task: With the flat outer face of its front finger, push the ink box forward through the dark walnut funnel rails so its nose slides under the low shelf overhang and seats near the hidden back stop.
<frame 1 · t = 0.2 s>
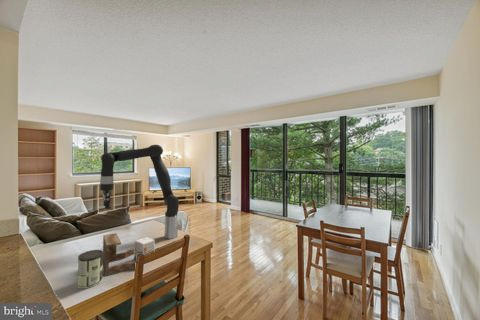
hand: (106, 207, 140), 29 cm above the table, fingers open, 8 cm apart
shelf bay: (118, 265, 122), on the table
ink box: (144, 259, 130), on the table
coffee can: (90, 282, 104), on the table
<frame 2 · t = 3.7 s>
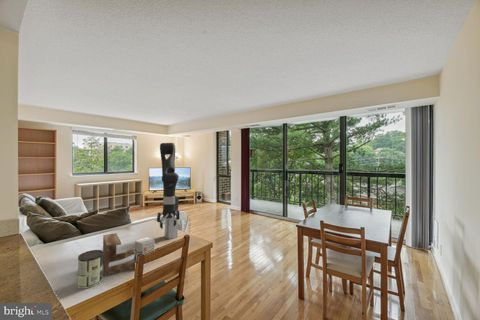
hand: (168, 227, 139), 17 cm above the table, fingers open, 8 cm apart
nothing on the table moved.
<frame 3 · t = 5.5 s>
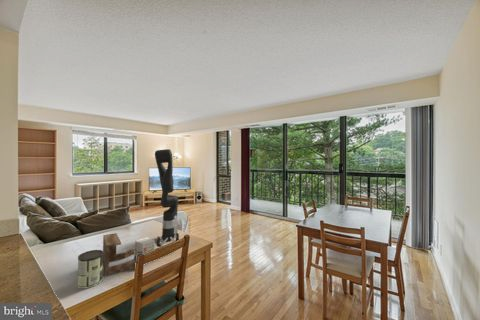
hand: (167, 250, 139), 2 cm above the table, fingers open, 8 cm apart
nothing on the table moved.
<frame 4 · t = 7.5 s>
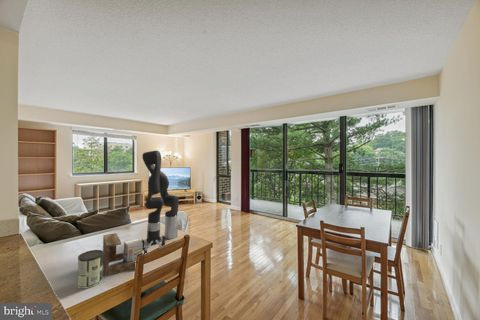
hand: (152, 254, 133), 2 cm above the table, fingers open, 8 cm apart
ink box: (132, 261, 127), on the table, touching hand
everything else where it was.
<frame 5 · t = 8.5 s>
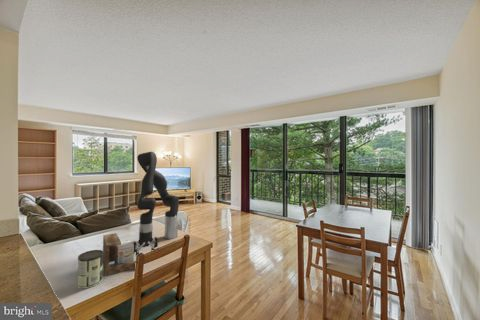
hand: (145, 256, 130), 2 cm above the table, fingers open, 8 cm apart
ink box: (124, 263, 124), on the table, touching hand
everything else where it was.
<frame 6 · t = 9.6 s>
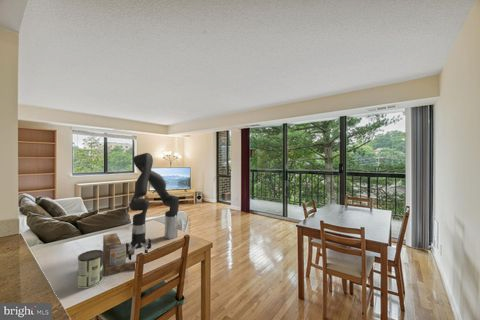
hand: (138, 257, 128), 2 cm above the table, fingers open, 8 cm apart
ink box: (116, 265, 122), on the table, touching hand
everything else where it was.
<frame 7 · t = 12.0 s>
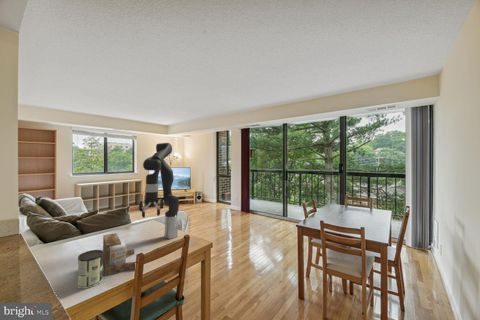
hand: (150, 216, 132), 26 cm above the table, fingers open, 8 cm apart
ink box: (116, 265, 122), on the table
everything else where it was.
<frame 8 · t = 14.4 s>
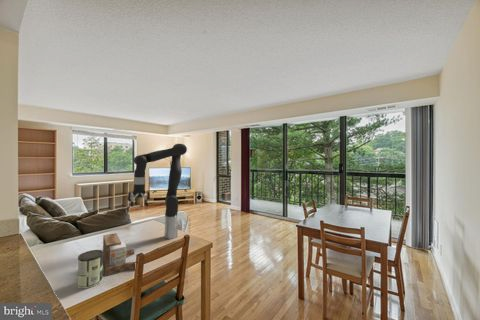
hand: (138, 206, 150), 28 cm above the table, fingers open, 8 cm apart
nothing on the table moved.
at the end: ink box inside the target area (0.6 cm from its centre), on the table; ink box tilted 0° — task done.
